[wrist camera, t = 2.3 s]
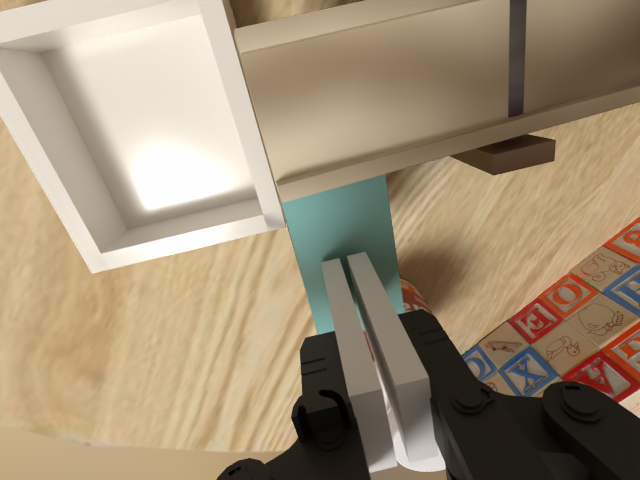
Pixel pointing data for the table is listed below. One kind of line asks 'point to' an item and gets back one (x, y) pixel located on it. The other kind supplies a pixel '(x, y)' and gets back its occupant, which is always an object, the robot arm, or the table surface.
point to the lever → (416, 104)
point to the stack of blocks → (574, 331)
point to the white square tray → (137, 124)
